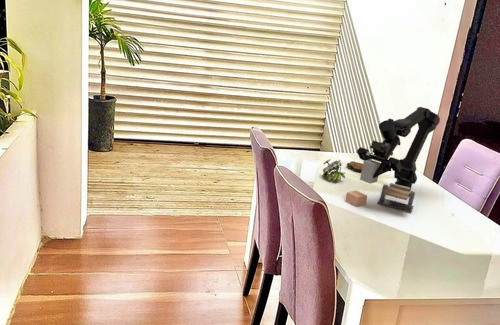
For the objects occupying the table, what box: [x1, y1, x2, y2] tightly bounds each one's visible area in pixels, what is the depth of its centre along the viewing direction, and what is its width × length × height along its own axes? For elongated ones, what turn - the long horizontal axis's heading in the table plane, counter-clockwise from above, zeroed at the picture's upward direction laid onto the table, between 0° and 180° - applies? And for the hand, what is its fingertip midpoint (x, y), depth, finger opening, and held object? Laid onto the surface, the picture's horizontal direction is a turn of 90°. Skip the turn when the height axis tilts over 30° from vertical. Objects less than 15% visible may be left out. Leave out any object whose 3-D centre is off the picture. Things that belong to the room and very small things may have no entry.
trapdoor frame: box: [376, 183, 416, 214], centre depth 195 cm, size 7×14×8 cm, turn 65°
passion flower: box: [321, 158, 346, 183], centre depth 220 cm, size 11×11×12 cm
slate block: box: [359, 159, 381, 184], centre depth 189 cm, size 5×5×8 cm
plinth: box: [344, 190, 368, 207], centre depth 194 cm, size 6×6×4 cm
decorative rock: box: [346, 160, 363, 173], centre depth 241 cm, size 11×4×15 cm
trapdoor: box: [384, 182, 411, 201], centre depth 191 cm, size 13×9×2 cm
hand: (367, 175), depth 188 cm, fingers closed on slate block, 5 cm apart
